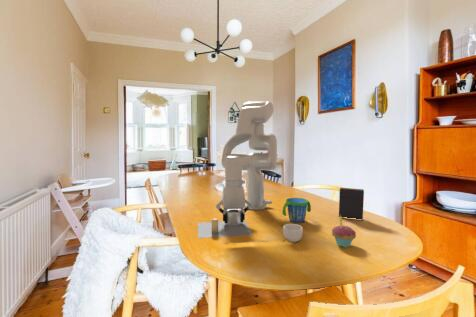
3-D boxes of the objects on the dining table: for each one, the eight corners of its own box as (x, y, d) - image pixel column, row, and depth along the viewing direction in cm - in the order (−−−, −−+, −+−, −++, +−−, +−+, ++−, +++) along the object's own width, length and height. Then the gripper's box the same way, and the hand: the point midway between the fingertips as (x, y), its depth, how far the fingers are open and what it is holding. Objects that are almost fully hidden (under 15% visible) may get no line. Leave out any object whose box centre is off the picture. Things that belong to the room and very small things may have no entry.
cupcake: (344, 251, 95) (345, 218, 94) (326, 242, 103) (327, 212, 101) (360, 246, 99) (361, 215, 98) (342, 238, 107) (343, 209, 105)
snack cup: (288, 225, 122) (288, 204, 121) (277, 218, 132) (277, 198, 131) (316, 222, 127) (317, 201, 126) (304, 215, 137) (304, 196, 136)
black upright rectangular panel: (362, 218, 132) (363, 189, 131) (362, 221, 128) (363, 190, 127) (339, 215, 137) (340, 187, 135) (338, 218, 133) (339, 188, 132)
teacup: (299, 245, 100) (300, 231, 99) (280, 241, 103) (280, 228, 103) (305, 236, 109) (305, 223, 108) (287, 233, 112) (287, 221, 112)
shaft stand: (245, 223, 124) (245, 209, 124) (252, 238, 107) (252, 221, 106) (198, 226, 121) (197, 211, 120) (198, 241, 103) (197, 224, 103)
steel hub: (240, 220, 124) (240, 208, 123) (242, 225, 117) (242, 212, 116) (225, 221, 123) (225, 208, 122) (226, 226, 116) (226, 213, 115)
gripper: (250, 181, 123) (250, 218, 125) (213, 182, 120) (214, 220, 122) (254, 184, 115) (254, 223, 117) (214, 185, 113) (215, 225, 115)
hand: (233, 221), depth 120 cm, fingers closed on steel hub, 7 cm apart
